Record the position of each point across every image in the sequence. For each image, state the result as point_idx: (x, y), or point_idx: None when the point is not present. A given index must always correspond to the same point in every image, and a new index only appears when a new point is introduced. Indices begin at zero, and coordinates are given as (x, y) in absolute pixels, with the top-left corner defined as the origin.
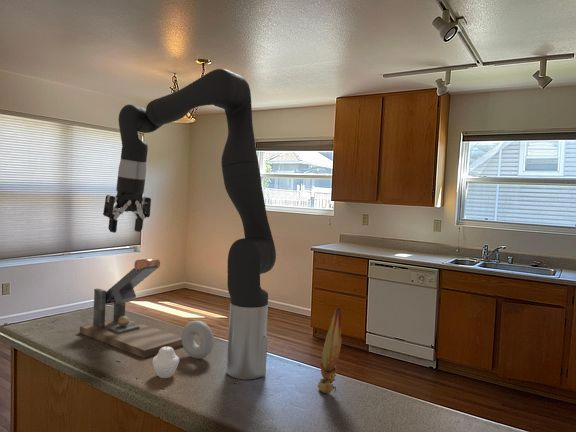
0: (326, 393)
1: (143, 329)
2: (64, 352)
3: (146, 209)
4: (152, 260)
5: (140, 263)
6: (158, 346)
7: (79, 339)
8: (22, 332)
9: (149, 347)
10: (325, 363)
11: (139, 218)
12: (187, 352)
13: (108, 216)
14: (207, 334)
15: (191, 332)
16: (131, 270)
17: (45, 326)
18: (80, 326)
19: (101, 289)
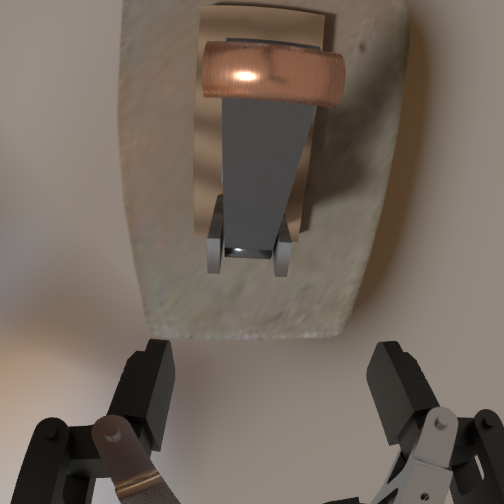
0: None
1: (221, 121)
2: (385, 162)
3: (58, 495)
4: (256, 49)
5: (342, 59)
6: (285, 9)
7: (323, 201)
8: (347, 297)
9: (305, 18)
10: None
11: (143, 437)
12: None
13: (491, 413)
14: None
15: None
16: (305, 141)
17: (305, 302)
18: (297, 239)
19: (278, 261)
